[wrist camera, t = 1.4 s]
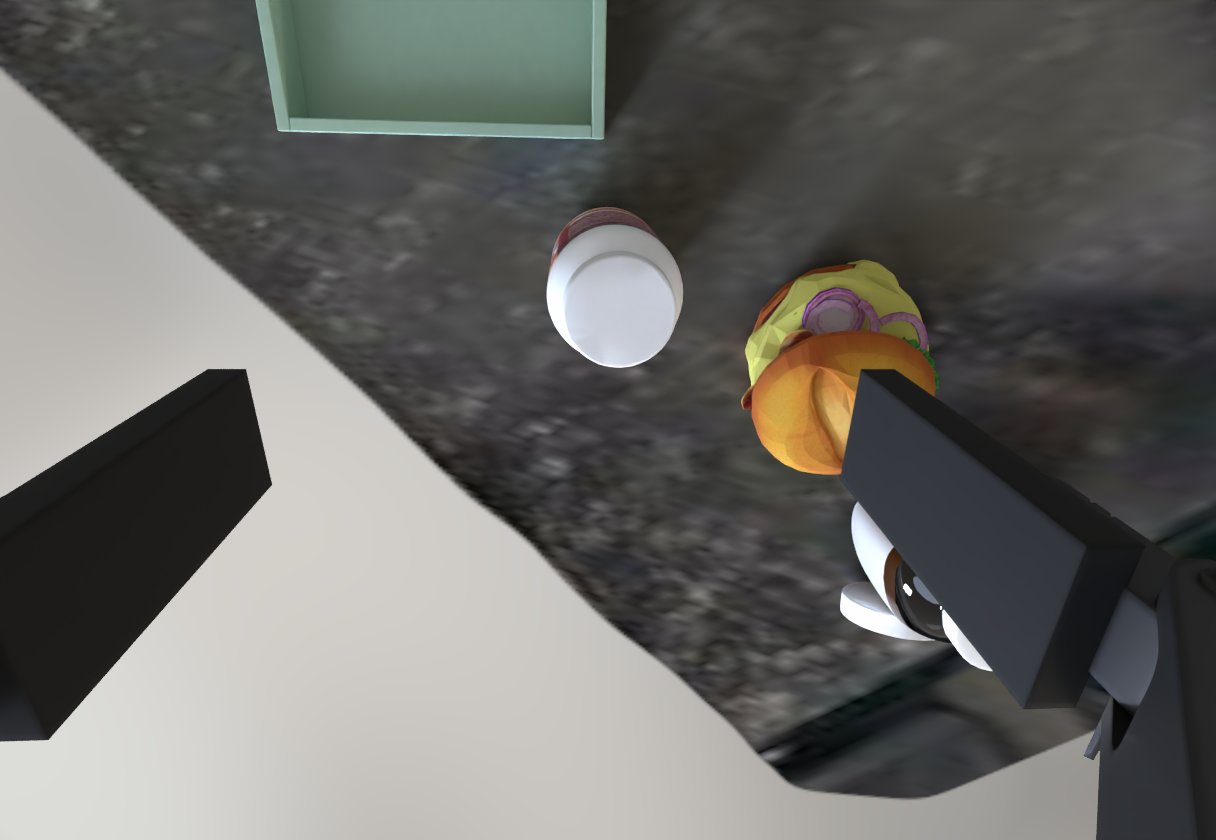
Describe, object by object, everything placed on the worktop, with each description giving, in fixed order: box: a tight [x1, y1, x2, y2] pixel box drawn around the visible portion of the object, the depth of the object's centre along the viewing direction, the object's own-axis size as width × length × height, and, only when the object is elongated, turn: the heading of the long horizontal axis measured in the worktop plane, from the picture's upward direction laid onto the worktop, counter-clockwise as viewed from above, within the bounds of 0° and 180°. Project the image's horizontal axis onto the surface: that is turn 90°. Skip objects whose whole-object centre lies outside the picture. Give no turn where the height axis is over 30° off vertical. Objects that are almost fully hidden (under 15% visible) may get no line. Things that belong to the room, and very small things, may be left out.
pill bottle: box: [547, 207, 683, 367], centre depth 30 cm, size 6×6×11 cm
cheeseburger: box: [741, 259, 939, 474], centre depth 35 cm, size 10×11×10 cm
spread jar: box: [840, 500, 992, 671], centre depth 39 cm, size 12×11×12 cm
